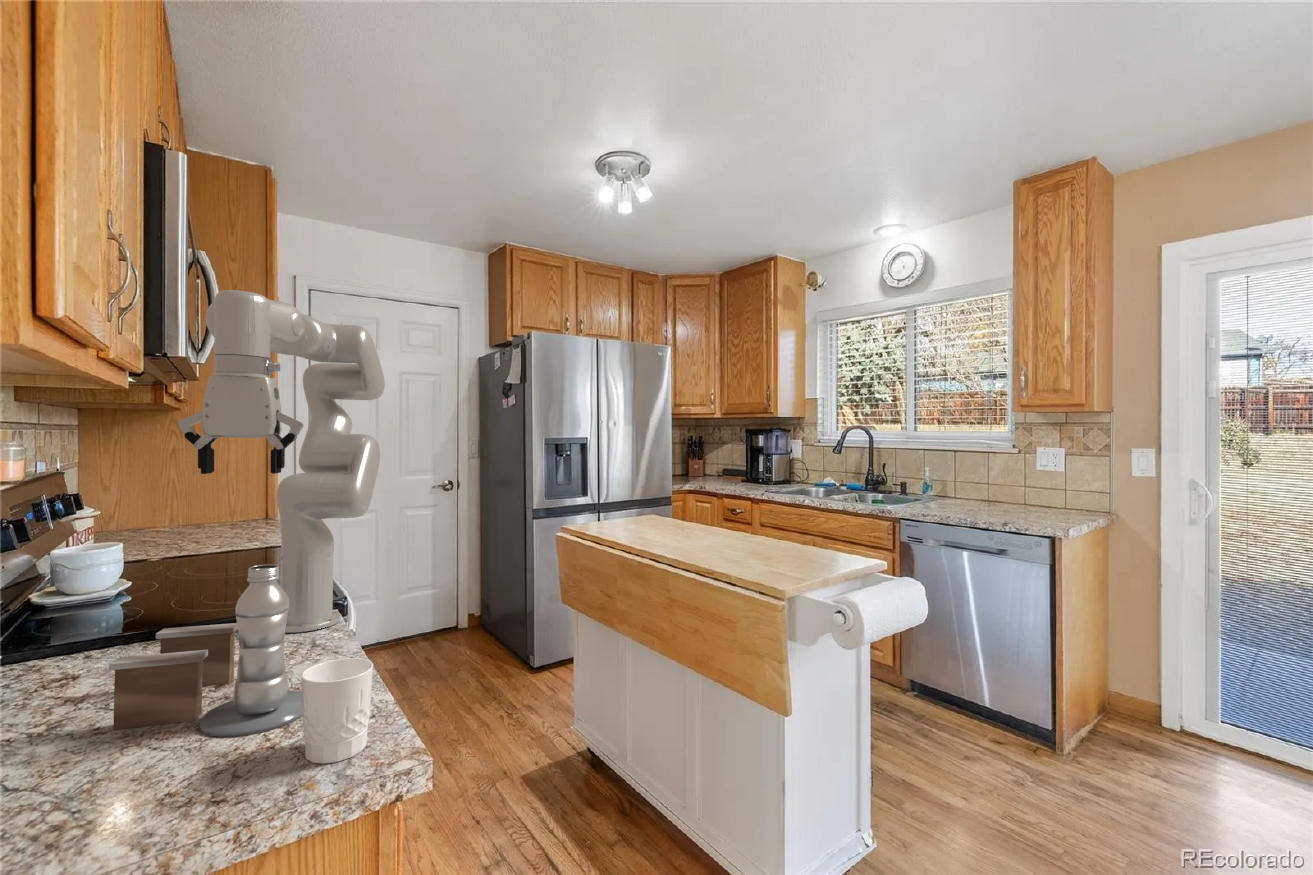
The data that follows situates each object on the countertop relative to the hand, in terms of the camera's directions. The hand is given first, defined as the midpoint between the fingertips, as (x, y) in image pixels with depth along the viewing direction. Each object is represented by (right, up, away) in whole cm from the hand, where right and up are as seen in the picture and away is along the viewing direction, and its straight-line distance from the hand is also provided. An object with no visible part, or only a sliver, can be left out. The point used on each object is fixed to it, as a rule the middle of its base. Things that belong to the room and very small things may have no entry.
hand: (242, 473), depth 96 cm
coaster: (+12, -33, -14) cm, 38 cm away
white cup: (+28, -33, -23) cm, 49 cm away
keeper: (-2, -33, -10) cm, 34 cm away
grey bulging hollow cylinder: (+12, -33, -14) cm, 38 cm away
